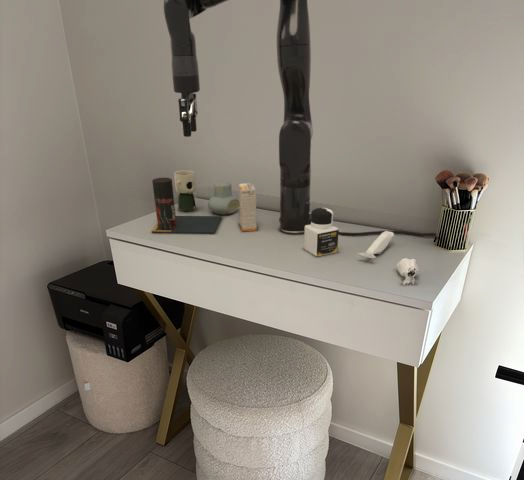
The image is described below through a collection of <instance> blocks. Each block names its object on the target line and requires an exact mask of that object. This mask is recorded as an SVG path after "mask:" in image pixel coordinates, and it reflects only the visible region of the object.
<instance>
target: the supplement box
mask: <svg viewBox="0 0 524 480" xmlns="http://www.w3.org/2000/svg"><path fill="white" fill-rule="evenodd" d="M238 200H239V207H238V208H239V226H240V227H241V230H242V232H253V231H258V230H257V229H258V228H257V225H258V223H257V189H256V186H255V185H254V183H253V182H247V183H244V182H243V183H238Z"/></svg>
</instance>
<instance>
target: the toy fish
mask: <svg viewBox="0 0 524 480" xmlns="http://www.w3.org/2000/svg"><path fill="white" fill-rule="evenodd" d="M384 231H385V232H383V233H381V234H380V235H379V236H378V237H377V238H376V239H375V240H374V241H373V242H372V244H370V246H369V247H368V248H367V250H366V251H362V252H358V253H356V256H360V257H364V258H367V259H377V257H376V256H375V255H380V254H382V252H384V251H385V250H386V248H387V247H388V246H389V243H390V242H391V240H392V239H393V238H394V236H395V233H393V232H389V230H384Z"/></svg>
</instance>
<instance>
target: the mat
mask: <svg viewBox="0 0 524 480" xmlns="http://www.w3.org/2000/svg"><path fill="white" fill-rule="evenodd" d="M222 218H223V216H221V215H176V225H177V227H176V228H175V229H173V230H160V229H158V223H157V224H156V225H155V227H153V229H152V230H151V233H152V234H181V235H182V234H183V235H184V234H185V235H186V234H190V235H192V234H193V235H199V234H200V235H215V234H216V232H217V230H218V228H219V225H220V223H221V220H222Z"/></svg>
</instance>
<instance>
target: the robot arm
mask: <svg viewBox="0 0 524 480" xmlns="http://www.w3.org/2000/svg"><path fill="white" fill-rule="evenodd" d="M228 1H229V0H163V14H164V15H163V16H164V20H165V24H166V26H167V27H166V28H167V32H168V35H169V40H170V53H171V74H172V86H173V92H174V93H177V94H180V97H181V98H178V101H177V102H178V112H179V121H180V123H182V132H183V137H185V138H187V137H188V138H189V137H192V132H194V133H195V132H197V130H198V129H197V127H198V126H197V117H198V112H199V111H198V103H197V93H198V92H200V90H201V87H200V73H199V72H200V71H199V62H198V56H197V41H196V36H195V33H194V32H192V27H191V21H190V20H191V19H193V18H195V17H197V16H199V15H200V14H202V13H204V12H205V11H207V10H209V9H212V8H214V7H215V8H216V7H218V6H219V5H222V4H223V3H226V2H228ZM278 11H279V12H278V19H277V25H276V26H277V28H276V57H277V59H276V63H277V69H278V74H279V80H280V84H281V89H282V94H283V123H282V125H281V126H280V129H279V133H278V165H279V170H280V171H279V183H280V184H279V191H280V192H279V219H278V223H279V231H281V232H282V233H284V234H289V235H299V234H304V233H305V225H311V177H312V165H311V163H312V161H311V156H312V155H311V152H312V150H311V149H312V139H313V135H314V128H313V122H312V113H311V104H310V88H311V87H310V86H311V74H312V73H311V72H312V71H311V69H312V68H311V67H312V66H311V65H312V64H311V63H312V52H311V51H312V48H311V47H312V46H311V43H312V42H311V28H310V27H311V25H310V15H309V3H308V0H279V10H278ZM385 231H386V230H375V231H374V230H373V231H363V232H362V231H361V232H349V231H348V232H347V231H346V232H345V231H339V233H338V235H340V236H342V235H343V236H365V235H366V236H367V235H379V234H380V235H381V233H383V232H385ZM388 231H389V232H393V233H394V234H404V235H410V236H417V237H418V236H419V237H428V236H429V237H430V236H434V237H437V236H436V233H437V232H415V231H408V230H394V229H393V230H392V229H390V230H389V229H388Z"/></svg>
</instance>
